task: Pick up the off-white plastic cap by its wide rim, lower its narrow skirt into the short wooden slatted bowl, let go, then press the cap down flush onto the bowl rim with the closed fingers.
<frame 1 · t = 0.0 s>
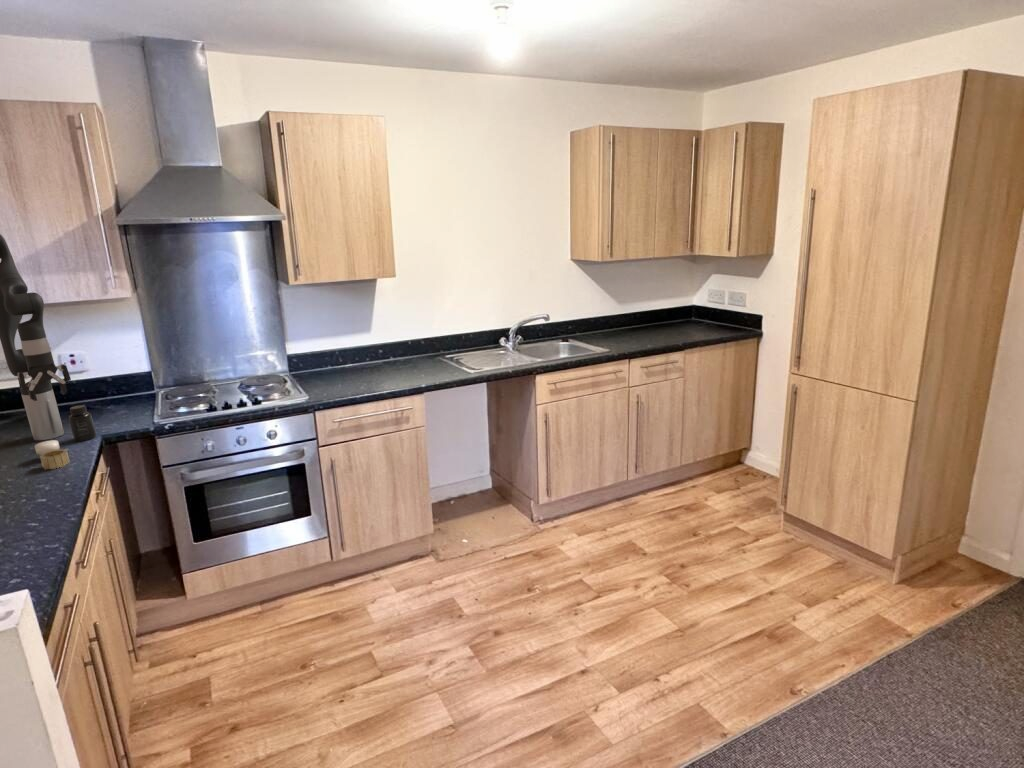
hand: (49, 397, 215), 17 cm above the worktop, tool pointing down, fingers open, 8 cm apart
cap: (50, 457, 207), on the worktop
supplement bottle: (85, 438, 224), on the worktop
wooden slatted bowl: (56, 465, 200), on the worktop
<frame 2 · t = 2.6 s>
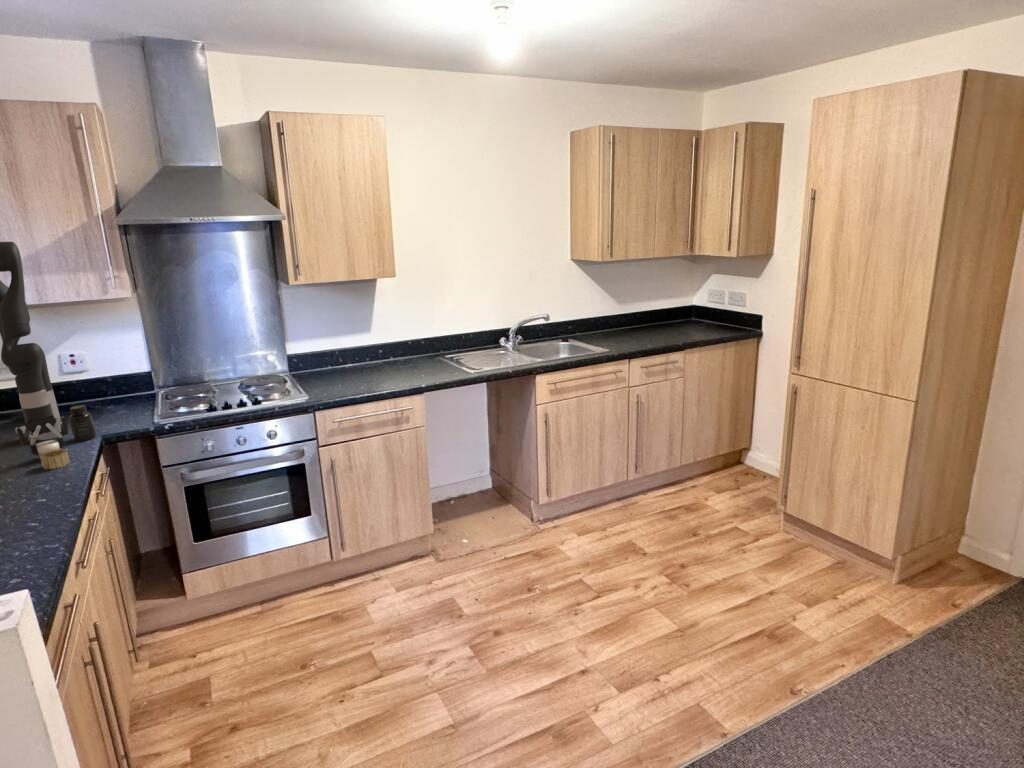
hand: (48, 451, 206), 2 cm above the worktop, tool pointing down, fingers closed on cap, 6 cm apart
cap: (50, 457, 207), on the worktop, touching gripper
everything else where it was.
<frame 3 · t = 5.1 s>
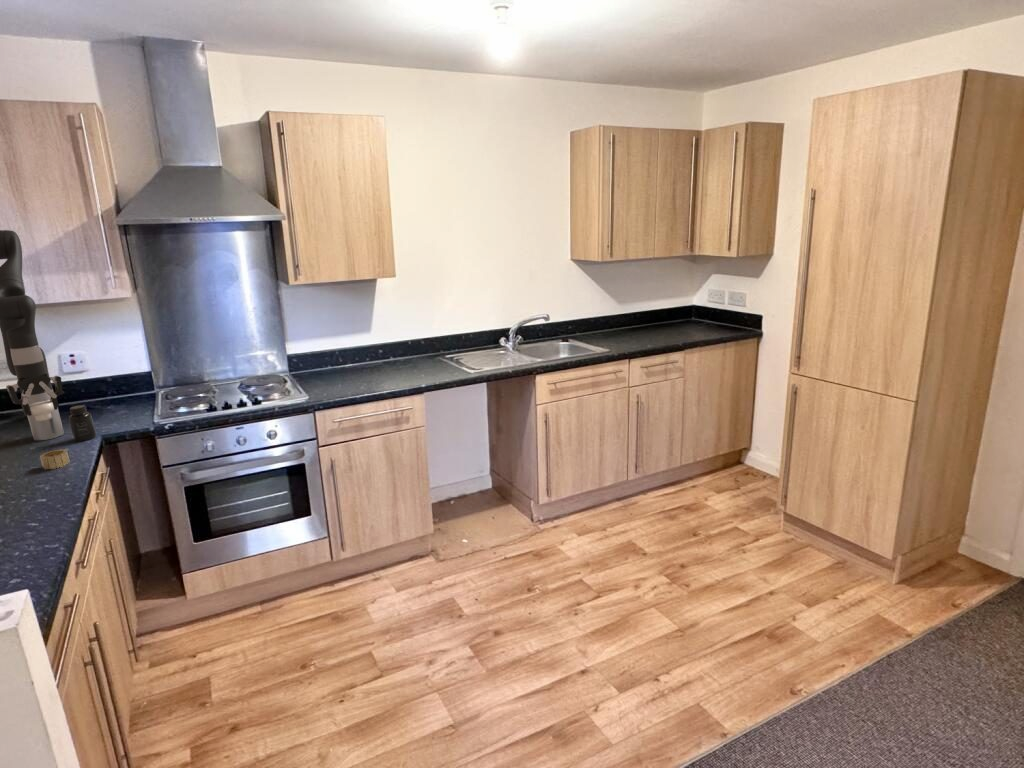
hand: (42, 412, 195), 18 cm above the worktop, tool pointing down, fingers closed on cap, 6 cm apart
cap: (44, 418, 195), point 16 cm above the worktop, touching gripper
everything else where it was.
when the fingers open (5 cm above the worktop, at t = 8.0 s): cap drops 2 cm, resting on wooden slatted bowl.
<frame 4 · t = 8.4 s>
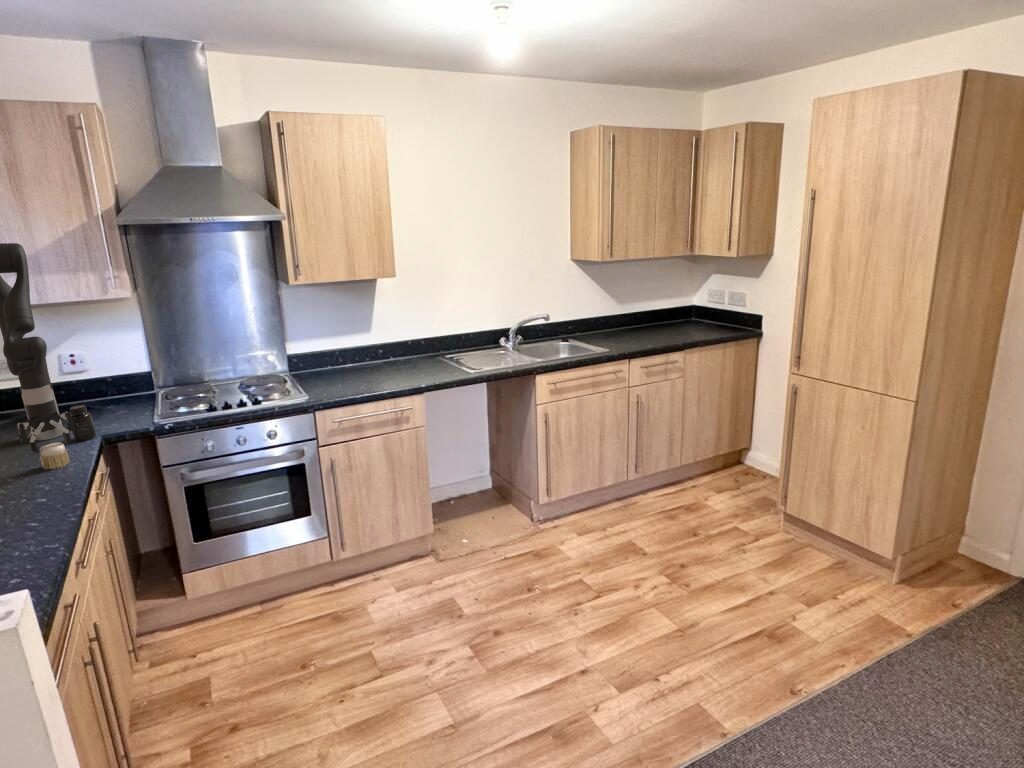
hand: (52, 448, 198), 6 cm above the worktop, tool pointing down, fingers open, 8 cm apart
cap: (55, 460, 200), point 1 cm above the worktop, touching wooden slatted bowl
everything else where it was.
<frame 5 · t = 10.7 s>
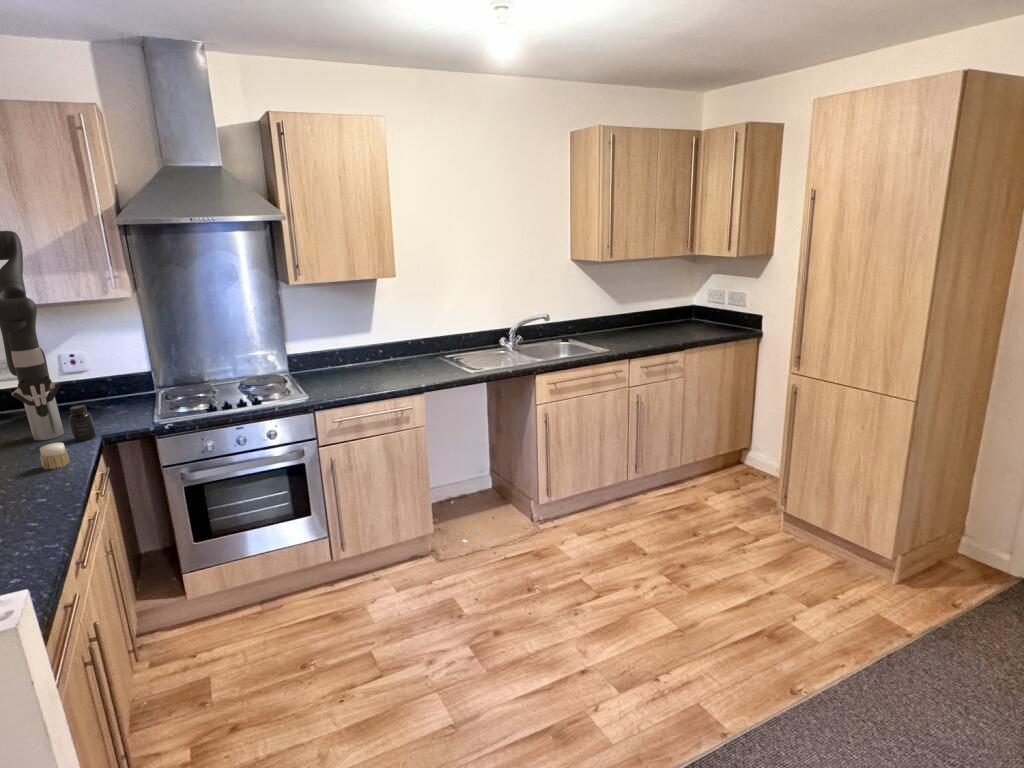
hand: (43, 416, 195), 17 cm above the worktop, tool pointing down, fingers closed
nothing on the worktop moved.
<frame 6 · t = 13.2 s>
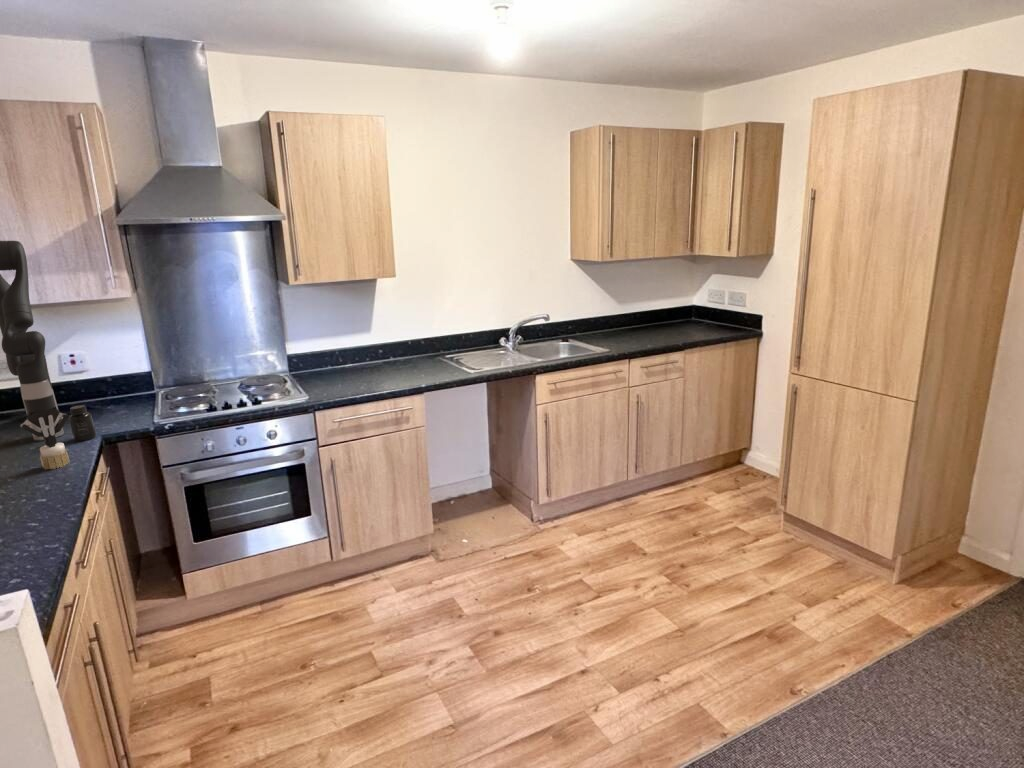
hand: (51, 446, 198), 6 cm above the worktop, tool pointing down, fingers closed
cap: (55, 460, 200), point 1 cm above the worktop, touching gripper, wooden slatted bowl
everything else where it was.
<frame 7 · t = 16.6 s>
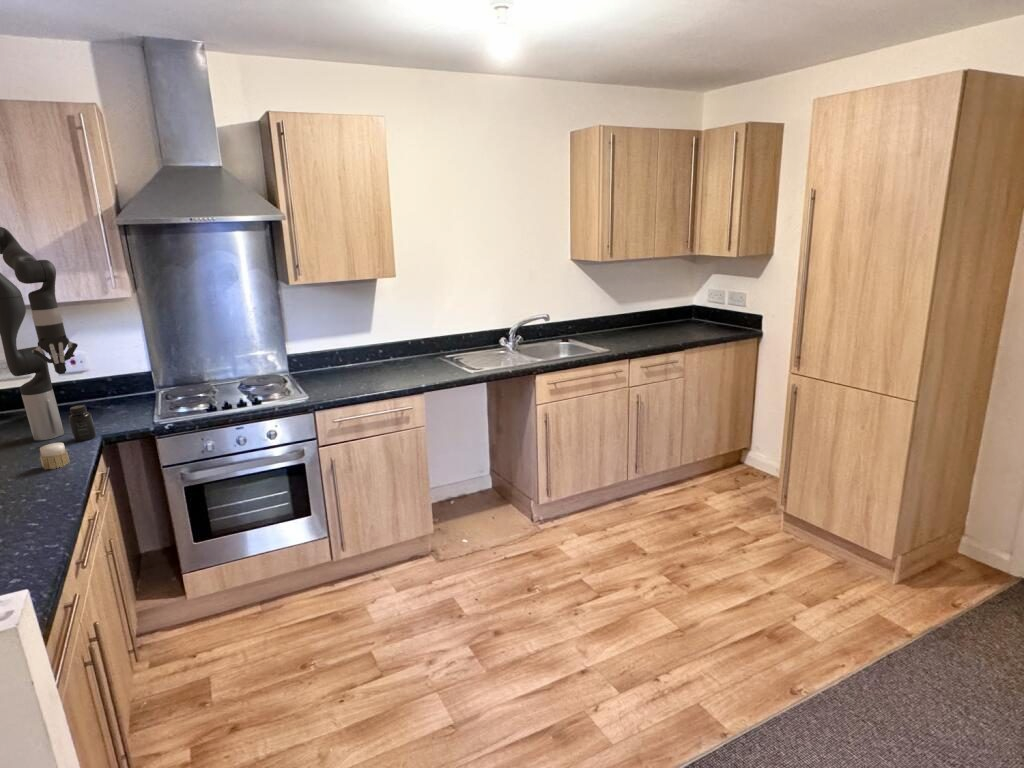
hand: (61, 373, 206), 27 cm above the worktop, tool pointing down, fingers closed
cap: (55, 460, 200), point 1 cm above the worktop, touching wooden slatted bowl
everything else where it was.
at the end: cap 0.1 cm off-centre on the wooden slatted bowl, point 1.5 cm above the wooden slatted bowl's base; cap tilted 0°; the gripper is holding nothing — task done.
